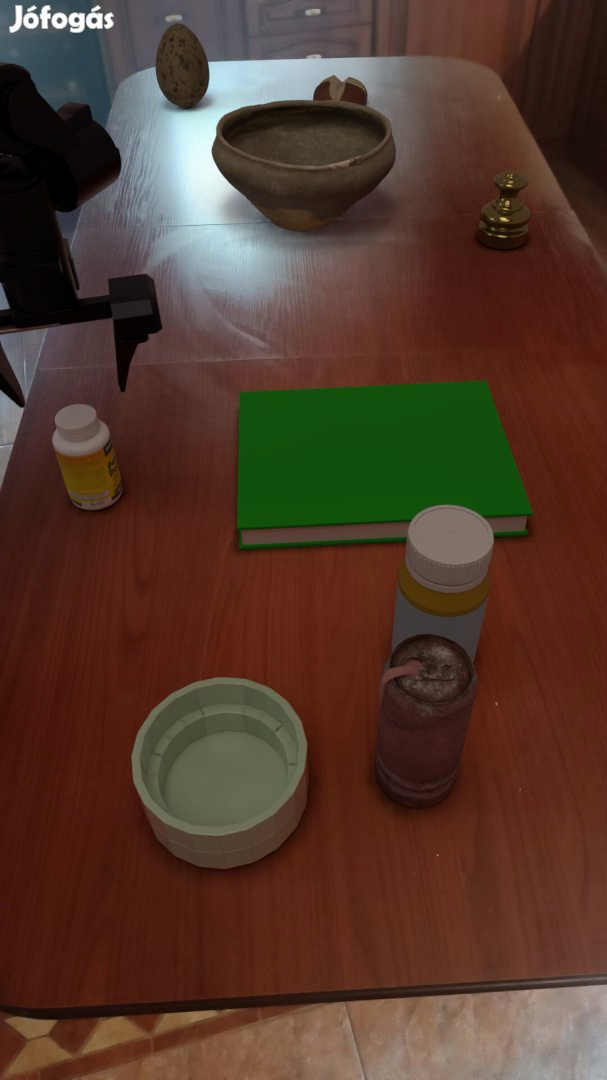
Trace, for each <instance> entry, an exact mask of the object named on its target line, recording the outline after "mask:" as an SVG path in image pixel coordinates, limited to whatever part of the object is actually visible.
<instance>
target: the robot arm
mask: <svg viewBox="0 0 607 1080" xmlns="http://www.w3.org/2000/svg"><path fill="white" fill-rule="evenodd" d="M121 172H122V156H121V151H120V149H119V148H118V147H117V146H116V144H115V141H114V139H113V138H112V136H111V135H110V133H109V132H108V130H106V129H105V127H103V125H101V124H100V123H99V122H98V121H96V120H95V119H93V113H92V108H91V106H90V105H89V104H88V103H81V102H76V101H75V102H74V101H68V102H66V103H64V104H62V105H61V106H60V107H59V108H58V109H57V110H55V109H54V108H53V107H52V105H50V103H49V102H48V101H47V100H46V99H45V98H44V97H43V95H42V94H41V93H40V92H39V90H38V88H37V85H36V83H35V82H34V80H33V78H32V75H31V72H30V70H28V69H27V68H25V67H24V66H22V65H19V64H16V63H11V62H5V61H0V284H1V287H2V290H3V293H4V296H5V298H6V302H7V304H8V307H9V308H4V309H0V336H1V335H9V334H17V333H23V332H30V331H38V330H44V329H52V328H59V327H61V326H68V325H74V324H81V323H90V322H95V321H96V322H97V321H103V320H109V319H110V320H112V328H113V340H114V342H113V343H114V353H115V365H116V377H117V385H118V388H119V391H120V393H125V392H126V390H127V383H128V379H129V373H130V368H131V363H132V361H133V358H134V356H135V353H136V350H137V348H138V345H140V344H144V343H147V342H148V341H149V340H150V336H149V335H153V334H157V333H159V332H160V331H162V330H163V323H162V317H161V312H160V306H159V305H160V304H159V300H158V294H157V289H156V283H155V279H154V278H152V277H151V276H150V275H149V274H148V273H140V274H133V275H132V274H131V275H126V276H118V277H111V278H107V284H108V294H105V295H103V294H102V295H97V296H90V297H82V298H80V296H79V293H78V291H80V290H81V288H80V285H81V284H80V280H79V275H78V272H77V268H76V265H75V260H74V258H73V256H72V252H71V248H70V243H69V238H67V237H66V238H65V237H63V234H62V228H61V225H60V222H59V218H58V214H57V212H59V213H64V214H65V213H72V212H74V211H75V210H77V209H78V208H80V207H82V206H83V205H84V204H85V203H87V202H89V201H90V200H91V199H93V198H94V197H96V196H97V195H98V194H100V193H101V192H102V191H104V190H106V189H107V188H109V187H110V186H111V185H113V184H114V183H115V182H116V181H117V180H118V179H119V177H120V174H121ZM14 371H15V370H14V369H13V367H12V365H11V363H10V360H9V359H8V357H7V354H6V352H5V350H4V348H3V345H2V342H1V340H0V391H1V392H2V394H4V395H6V397H7V398H8V399H10V400H11V402H13V403H14V404H15V405H16V406H17V407H19V408H20V409H23V408H26V399H25V396H24V393H23V390H22V386H21V384H20V382H19V379H18V378H17V375H16V373H15V372H14Z"/></svg>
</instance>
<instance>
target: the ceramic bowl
mask: <svg viewBox="0 0 607 1080" xmlns="http://www.w3.org/2000/svg"><path fill="white" fill-rule="evenodd" d="M132 748H133V749H132V752H131V755H130V756H131V757H130V760H131V771H132V781H133V785H134V788H135V790H136V791H135V792H136V793H137V796H138V799H139V801H140V804H141V807H142V809H143V812H144V815H145V818H146V820H147V821H148V824H149V826H150V828H151V830H152V832H153V834H154V836H155V838H156V840H157V841H158V842H159V843H161V845H163V846H164V847H165V849H167V850H168V851H169V852H170V853H171V854H172V855H173V856H174V857H175V858H178V859H180V860H183V861H185V862H187V863H189V864H192V865H194V866H196V867H200V868H208V869H209V868H210V869H222V870H227V869H231V868H232V869H233V868H235V867H236V868H237V867H240V866H244V865H249V864H253V863H255V862H258V861H259V860H260V859H262V858H264V857H266V856H267V855H270V854H271V853H272V852H274V851H276V850H277V849H278V848H280V847H281V845H283V844H284V843H285V841H286V840H287V839H288V838H289V836H291V834H292V833H293V832H294V831H295V830H296V829H297V827H298V825H299V823H300V820H301V818H302V816H303V813H304V811H305V809H306V807H307V804H308V796H309V795H308V793H309V782H310V777H309V776H310V775H309V774H310V773H309V754H308V753H309V751H308V741H307V737H306V734H305V729H304V725H303V721H302V720H301V718H300V716H299V715H298V714H297V712H296V711H295V710H294V708H293V707H292V705H291V704H290V702H289V701H288V700H287V699H286V698H284V697H283V696H282V695H280V694H279V693H278V692H276V691H275V690H274V689H272V688H271V687H269V686H267V685H265V684H262V683H259V682H256V681H253V680H251V679H248V678H241V677H224V676H217V677H213V678H208V679H203V680H198V681H194V682H191V683H190V684H187V685H186V686H184V687H182V688H179V689H178V690H176V691H173V692H172V693H170V694H169V695H167V697H165V698H164V699H163V700H162V701H161V702H160V703H158V704H157V705H156V706H155V707H154V708H153V709H152V710H151V711H150V712H149V714H148V716H147V717H146V719H145V720H144V722H143V723H142V725H141V727H140V728H139V730H138V731H137V733H136V736H135V741H134V744H133V747H132Z"/></svg>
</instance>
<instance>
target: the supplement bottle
mask: <svg viewBox="0 0 607 1080" xmlns="http://www.w3.org/2000/svg"><path fill="white" fill-rule="evenodd" d="M54 423H55V426H56V429H55V430H54V432H53V434H52V437H51V442H52V446H53V449H54V452H55V455H56V459H57V463H58V465H59V468H60V471H61V475H62V478H63V482H64V484H65V488H66V490H67V494H68V497H69V500H70V501H71V503H72V504H73V505H75V506H76V507H77V508H79V509H81V510H86V511H98V510H102V509H107V508H109V507H111V506H112V505H114V504H115V503H116V502H117V501H118V500H119V498H120V497H121V495H122V493H123V490H124V489H123V487H124V486H123V481H122V478H121V477H122V476H121V472H120V469H119V468H120V467H119V464H118V460H117V456H116V452H115V447H114V444H113V440H112V436H111V432H110V428H109V427H108V425H107V424H106V423H105V422H104V421H102V420H101V419H99V417H98V414H97V411H96V409H95V408H94V407H93V406H92V405H89V404H86V403H75V404H69V405H67V406H64V407H63V408H61V409H60V410H59V411H57V413H56V414H55V416H54Z"/></svg>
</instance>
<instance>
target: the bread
mask: <svg viewBox="0 0 607 1080" xmlns="http://www.w3.org/2000/svg"><path fill="white" fill-rule="evenodd" d="M312 100H313V101H316V100H318V101H326V100H337V101H345V102H351V103H355V104H358V105H362V106H365V107H366V104H367V103H368V90H367V88H366V86H365V85H364V84H363V83H362V82H361V80H359V79H356V78H354V77H350V76H349V77H346V78H345V79H344V80H343V81H342V80H340V78H339V77H337V76H336V75H335V74H333V75H331V76H329V77H328V76H327V77H326V78H324V79H323V80H322V81H321V82H320V83H319V84H317V86H316V87H315V88H314V91H313V96H312Z"/></svg>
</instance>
